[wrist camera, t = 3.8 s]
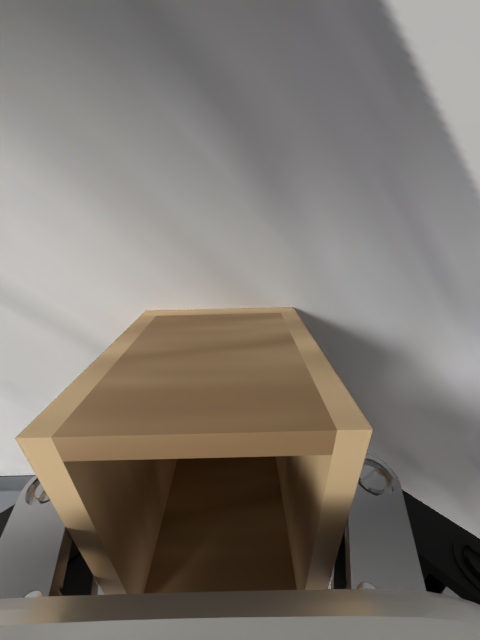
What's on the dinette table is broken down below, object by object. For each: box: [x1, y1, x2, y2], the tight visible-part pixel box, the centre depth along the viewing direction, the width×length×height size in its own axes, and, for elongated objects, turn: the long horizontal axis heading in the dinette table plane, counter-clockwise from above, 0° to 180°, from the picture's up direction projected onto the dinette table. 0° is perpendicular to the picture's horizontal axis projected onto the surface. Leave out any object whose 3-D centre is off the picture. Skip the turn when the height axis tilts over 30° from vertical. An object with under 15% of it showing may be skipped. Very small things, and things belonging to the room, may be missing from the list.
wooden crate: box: [15, 307, 373, 595], centre depth 8 cm, size 8×6×6 cm
